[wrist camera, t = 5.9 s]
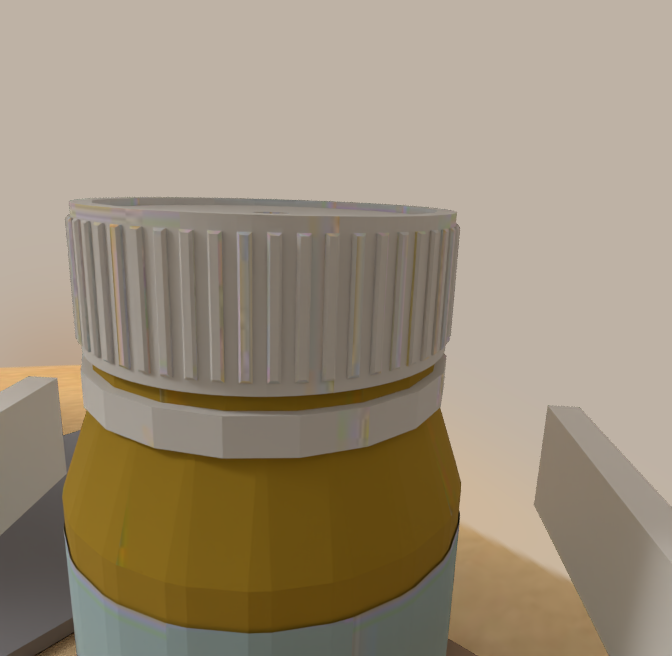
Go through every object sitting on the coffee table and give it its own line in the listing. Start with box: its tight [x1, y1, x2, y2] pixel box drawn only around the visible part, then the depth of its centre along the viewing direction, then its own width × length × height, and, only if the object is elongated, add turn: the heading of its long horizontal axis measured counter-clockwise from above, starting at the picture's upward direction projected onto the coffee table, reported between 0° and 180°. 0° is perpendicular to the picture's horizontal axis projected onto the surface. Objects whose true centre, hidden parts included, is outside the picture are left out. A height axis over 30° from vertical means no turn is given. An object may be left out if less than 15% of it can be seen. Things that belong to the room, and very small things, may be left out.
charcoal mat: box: [0, 430, 81, 656], centre depth 26 cm, size 14×14×1 cm
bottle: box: [62, 197, 461, 656], centre depth 11 cm, size 7×7×15 cm
